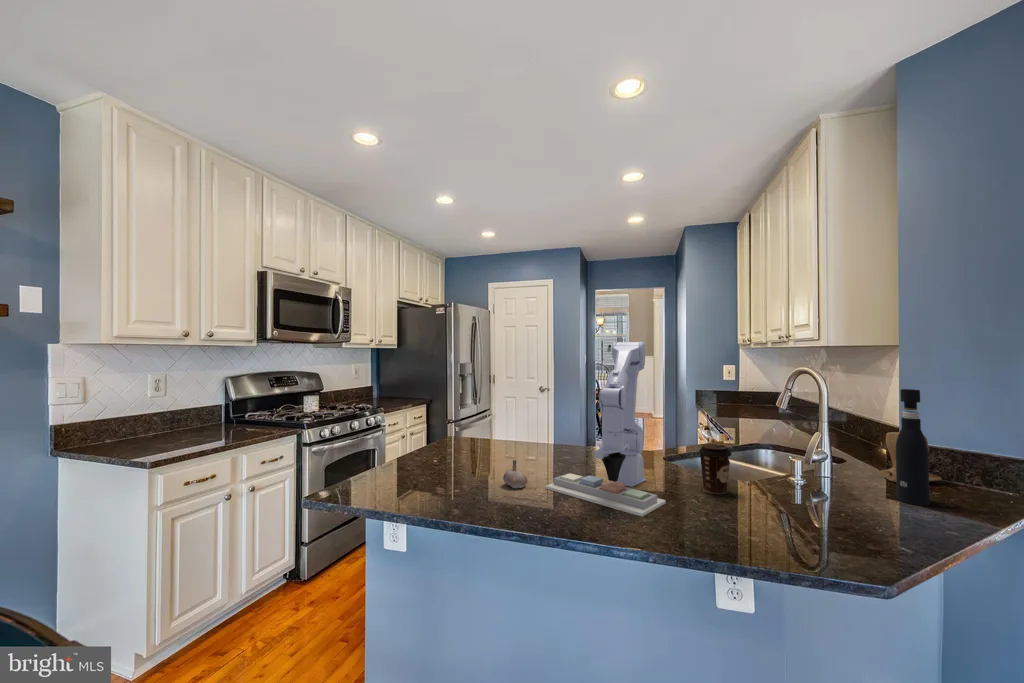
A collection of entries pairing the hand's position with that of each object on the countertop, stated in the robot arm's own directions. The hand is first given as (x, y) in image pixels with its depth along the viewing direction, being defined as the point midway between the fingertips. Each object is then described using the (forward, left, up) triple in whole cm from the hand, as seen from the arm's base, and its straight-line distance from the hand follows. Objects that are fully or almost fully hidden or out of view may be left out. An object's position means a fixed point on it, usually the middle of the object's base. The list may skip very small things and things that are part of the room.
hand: (613, 480), depth 117 cm
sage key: (0, +7, -4) cm, 8 cm away
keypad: (0, -4, -5) cm, 6 cm away
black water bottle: (-54, +59, -5) cm, 80 cm away
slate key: (0, -7, -3) cm, 8 cm away
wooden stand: (-79, +57, -5) cm, 98 cm away
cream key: (0, -14, -4) cm, 14 cm away
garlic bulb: (+11, -27, -5) cm, 30 cm away
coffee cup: (-26, +18, -5) cm, 32 cm away
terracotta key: (0, 0, -3) cm, 3 cm away
